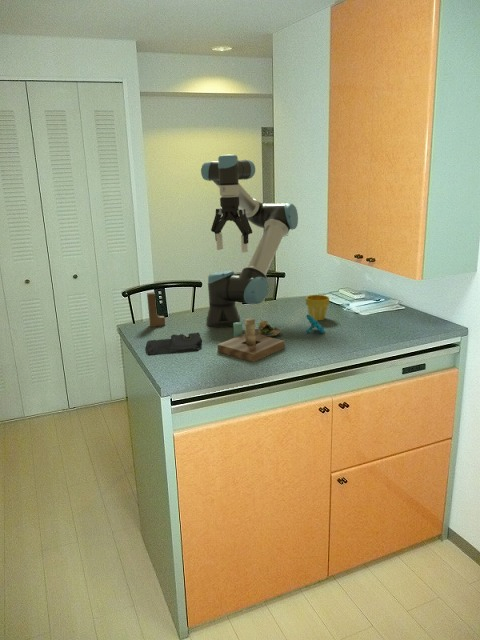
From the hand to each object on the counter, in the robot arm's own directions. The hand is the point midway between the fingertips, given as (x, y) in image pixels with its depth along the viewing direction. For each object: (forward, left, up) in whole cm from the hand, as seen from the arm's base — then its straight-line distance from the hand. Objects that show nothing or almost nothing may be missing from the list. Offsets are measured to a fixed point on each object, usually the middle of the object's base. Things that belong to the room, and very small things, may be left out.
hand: (232, 250), depth 206 cm
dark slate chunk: (-8, -27, -35) cm, 45 cm away
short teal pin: (+7, -6, -35) cm, 36 cm away
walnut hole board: (+19, -12, -35) cm, 41 cm away
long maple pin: (+19, -12, -35) cm, 41 cm away
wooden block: (-37, -12, -35) cm, 52 cm away
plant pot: (+16, +37, -35) cm, 53 cm away
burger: (+12, +6, -35) cm, 38 cm away
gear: (+26, +20, -35) cm, 48 cm away
